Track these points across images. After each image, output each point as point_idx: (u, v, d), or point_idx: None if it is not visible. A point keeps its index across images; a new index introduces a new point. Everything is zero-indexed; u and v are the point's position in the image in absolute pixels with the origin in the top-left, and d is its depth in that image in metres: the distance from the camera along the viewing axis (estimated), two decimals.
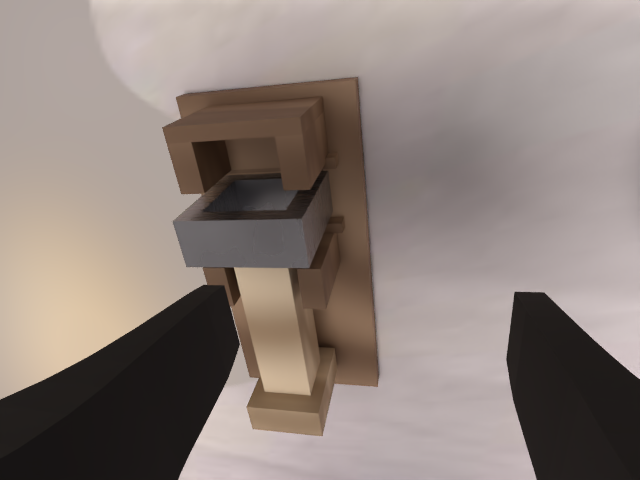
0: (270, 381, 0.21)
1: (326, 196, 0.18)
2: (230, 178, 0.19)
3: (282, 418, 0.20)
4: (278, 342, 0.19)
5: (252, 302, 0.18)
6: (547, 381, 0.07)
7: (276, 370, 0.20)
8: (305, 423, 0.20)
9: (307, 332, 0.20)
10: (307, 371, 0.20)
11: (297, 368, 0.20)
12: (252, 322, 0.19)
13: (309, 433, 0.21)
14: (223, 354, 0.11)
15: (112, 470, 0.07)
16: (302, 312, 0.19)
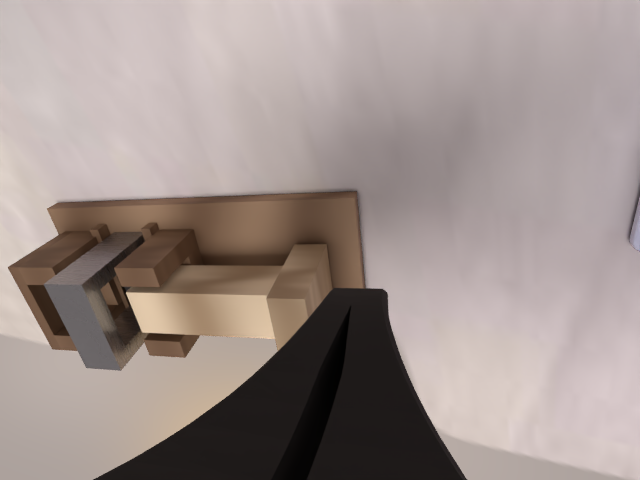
0: (267, 330, 0.19)
1: (116, 240, 0.22)
2: None
3: (288, 335, 0.17)
4: (211, 314, 0.19)
5: (172, 326, 0.20)
6: None
7: (248, 322, 0.19)
8: (288, 313, 0.17)
9: (219, 280, 0.19)
10: (246, 292, 0.18)
11: (239, 302, 0.18)
12: (194, 331, 0.20)
13: (307, 312, 0.17)
14: None
15: None
16: (191, 283, 0.20)
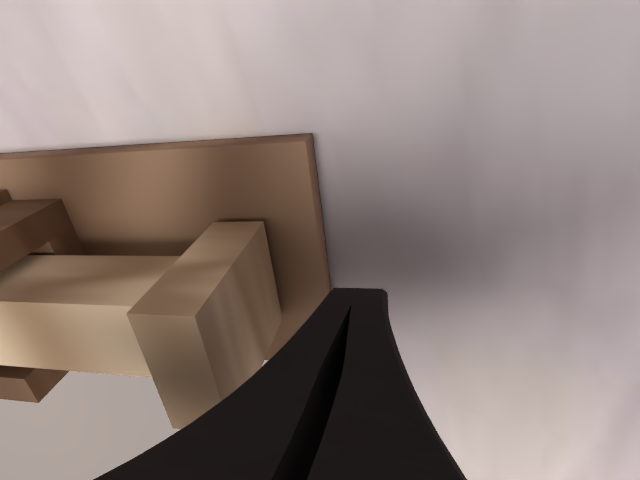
0: None
1: None
2: None
3: (176, 379, 0.10)
4: (62, 336, 0.11)
5: (9, 354, 0.12)
6: None
7: (123, 351, 0.11)
8: (169, 342, 0.09)
9: (81, 280, 0.12)
10: (113, 300, 0.10)
11: (102, 318, 0.11)
12: (44, 362, 0.12)
13: (204, 340, 0.09)
14: None
15: None
16: (35, 283, 0.12)
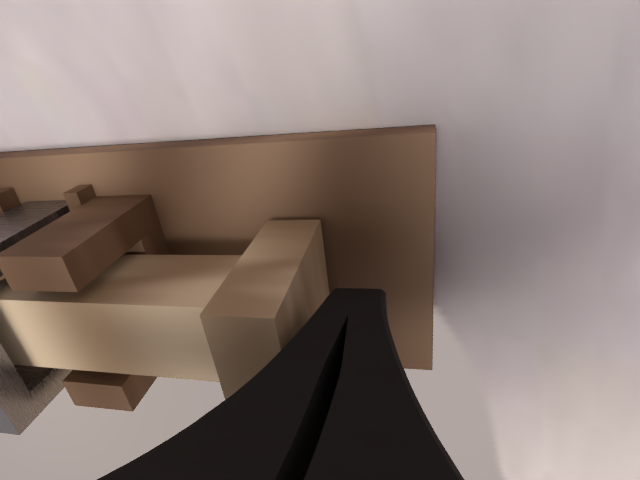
0: (214, 369, 0.11)
1: (24, 212, 0.13)
2: None
3: None
4: (117, 338, 0.11)
5: (57, 356, 0.12)
6: None
7: (181, 354, 0.11)
8: (243, 345, 0.09)
9: (135, 280, 0.11)
10: (174, 301, 0.10)
11: (162, 319, 0.10)
12: (95, 365, 0.12)
13: (280, 343, 0.08)
14: None
15: None
16: None
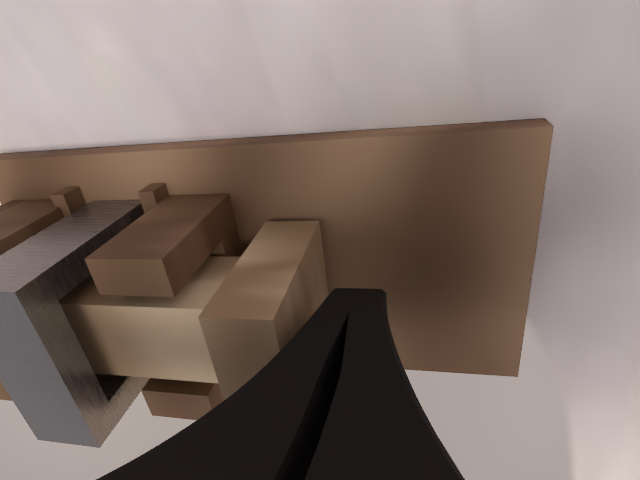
0: (213, 370, 0.11)
1: (95, 212, 0.13)
2: None
3: None
4: (115, 340, 0.11)
5: None
6: None
7: (180, 355, 0.11)
8: (241, 347, 0.09)
9: None
10: (173, 302, 0.10)
11: (161, 321, 0.10)
12: (93, 367, 0.12)
13: (279, 344, 0.08)
14: None
15: None
16: (85, 285, 0.11)
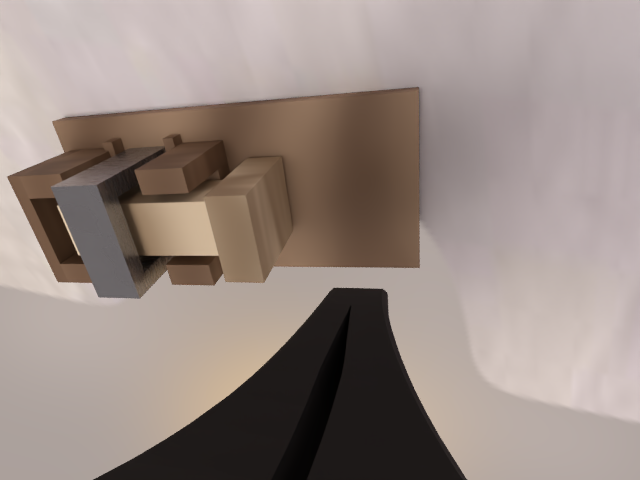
0: (212, 246, 0.17)
1: (133, 153, 0.19)
2: None
3: (230, 243, 0.15)
4: (150, 228, 0.17)
5: None
6: None
7: (191, 236, 0.17)
8: (228, 215, 0.15)
9: None
10: (187, 200, 0.16)
11: (180, 212, 0.17)
12: None
13: (250, 212, 0.15)
14: None
15: None
16: (130, 196, 0.18)
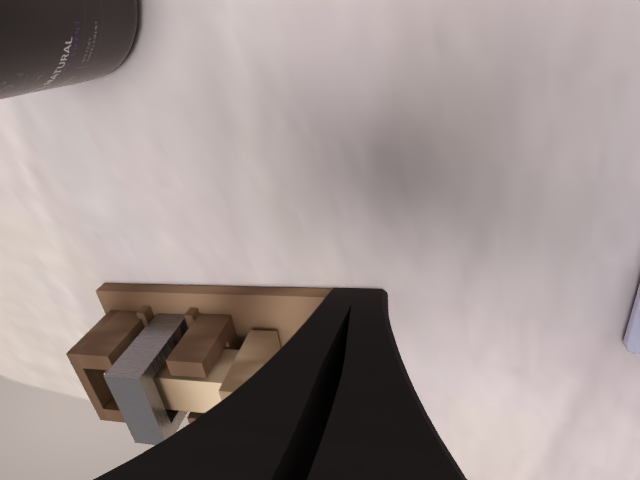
0: None
1: (161, 323, 0.24)
2: None
3: None
4: (176, 394, 0.22)
5: None
6: None
7: (207, 402, 0.22)
8: None
9: None
10: (205, 378, 0.22)
11: (199, 387, 0.22)
12: None
13: None
14: None
15: None
16: None
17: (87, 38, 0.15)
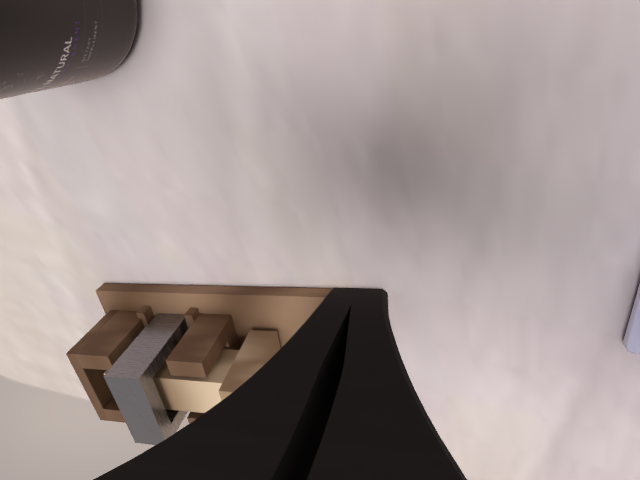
0: None
1: (161, 323, 0.24)
2: None
3: None
4: (176, 394, 0.22)
5: None
6: None
7: (207, 402, 0.22)
8: None
9: None
10: (205, 378, 0.22)
11: (199, 387, 0.22)
12: None
13: None
14: None
15: None
16: None
17: (87, 37, 0.15)
